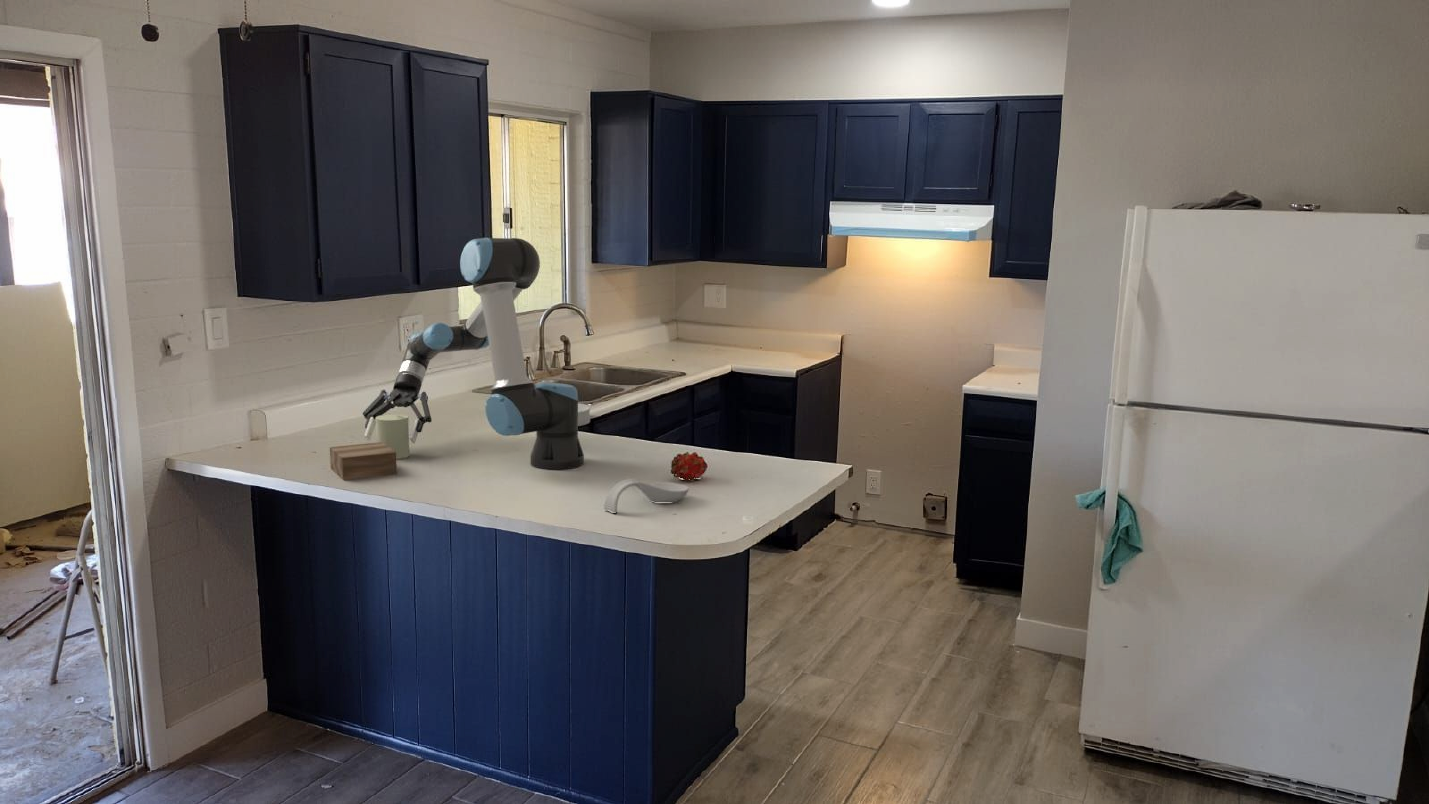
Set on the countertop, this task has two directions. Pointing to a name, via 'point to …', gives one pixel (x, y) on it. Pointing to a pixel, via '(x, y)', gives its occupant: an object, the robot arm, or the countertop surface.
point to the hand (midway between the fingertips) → (389, 439)
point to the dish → (583, 414)
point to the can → (394, 433)
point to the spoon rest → (646, 492)
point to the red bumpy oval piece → (688, 466)
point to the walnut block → (363, 460)
